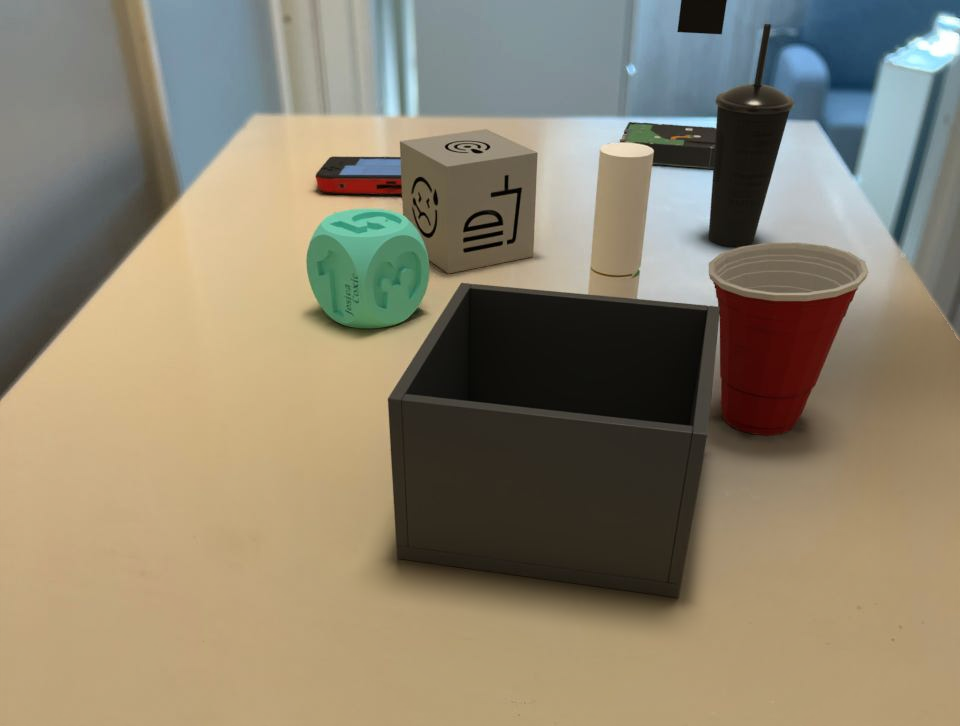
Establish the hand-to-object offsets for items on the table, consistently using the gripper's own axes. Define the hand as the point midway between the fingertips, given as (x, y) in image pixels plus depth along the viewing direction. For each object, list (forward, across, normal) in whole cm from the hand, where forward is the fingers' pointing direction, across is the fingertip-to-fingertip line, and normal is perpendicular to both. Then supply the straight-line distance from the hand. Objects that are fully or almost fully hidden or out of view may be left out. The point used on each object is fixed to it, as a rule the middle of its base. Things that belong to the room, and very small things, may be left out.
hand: (704, 15), depth 66 cm
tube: (+26, -7, -5) cm, 27 cm away
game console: (+26, -45, -38) cm, 64 cm away
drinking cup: (+26, -34, +5) cm, 43 cm away
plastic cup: (+26, +6, +8) cm, 28 cm away
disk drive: (+26, -65, -2) cm, 70 cm away
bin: (+25, +22, -5) cm, 34 cm away
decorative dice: (+26, -6, -27) cm, 38 cm away
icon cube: (+26, -24, -22) cm, 41 cm away
